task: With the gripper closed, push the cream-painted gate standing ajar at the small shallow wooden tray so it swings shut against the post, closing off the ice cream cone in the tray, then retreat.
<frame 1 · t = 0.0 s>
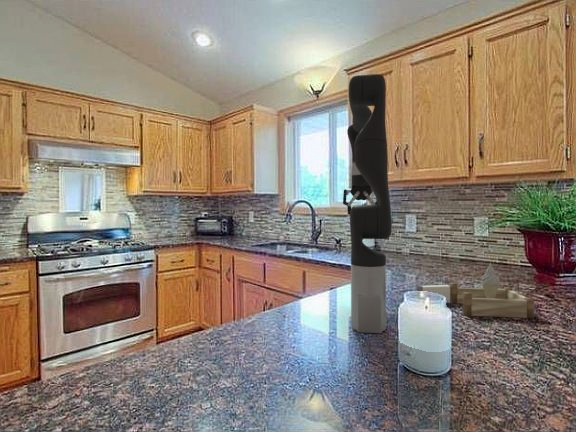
hand: (361, 215, 140), 29 cm above the countertop, fingers open, 8 cm apart
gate: (433, 293, 120), point 3 cm above the countertop, hinge at -75.0°
shallow wooden tray: (488, 309, 113), on the countertop
ice cream cone: (490, 309, 113), resting in shallow wooden tray
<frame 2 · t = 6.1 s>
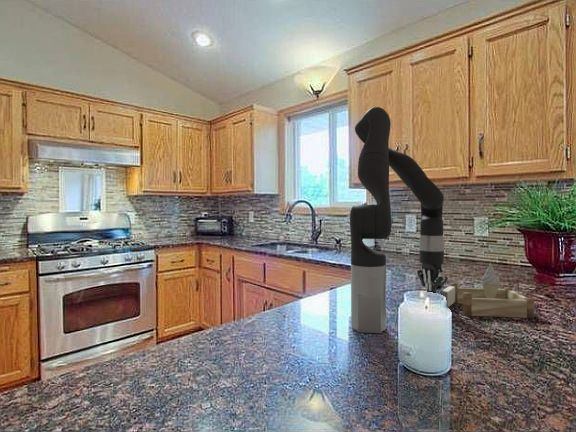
hand: (431, 301, 117), 1 cm above the countertop, fingers closed
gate: (447, 297, 116), point 3 cm above the countertop, hinge at -29.1°
everything else where it was.
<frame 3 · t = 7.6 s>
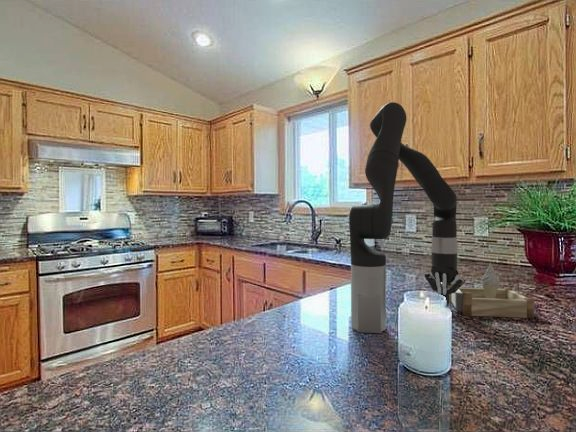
hand: (443, 305, 113), 1 cm above the countertop, fingers closed
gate: (456, 297, 114), point 3 cm above the countertop, hinge at -7.8°, touching hand
everything else where it was.
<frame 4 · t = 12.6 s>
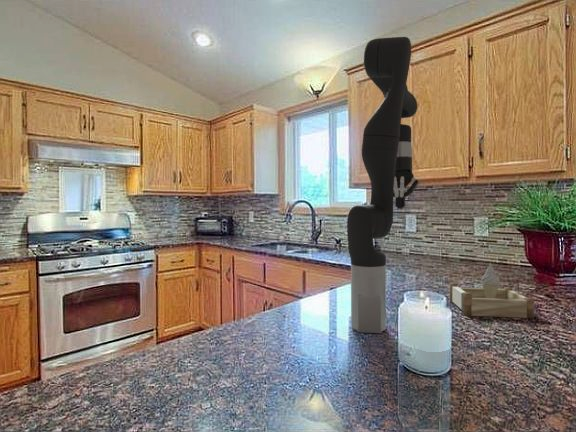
hand: (400, 208, 119), 32 cm above the countertop, fingers closed
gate: (460, 298, 114), point 3 cm above the countertop, hinge at 0.2°
everything else where it was.
at the end: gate at +0° (first picture: -75°); ice cream cone moved 0.2 cm from its start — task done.
